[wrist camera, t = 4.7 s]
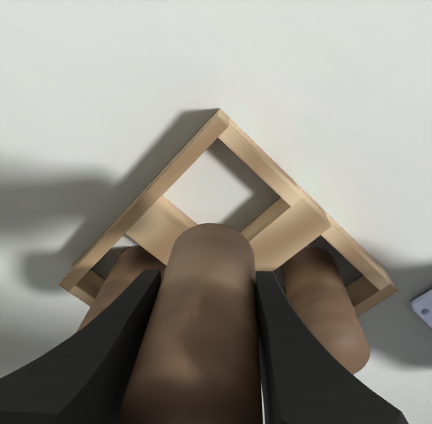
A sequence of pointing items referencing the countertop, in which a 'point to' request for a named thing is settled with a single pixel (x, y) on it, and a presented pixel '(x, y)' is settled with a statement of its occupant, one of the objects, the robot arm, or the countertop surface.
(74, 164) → the countertop surface
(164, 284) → the loose leg
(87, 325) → the robot arm
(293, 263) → the stool seat
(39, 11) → the countertop surface
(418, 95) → the countertop surface
